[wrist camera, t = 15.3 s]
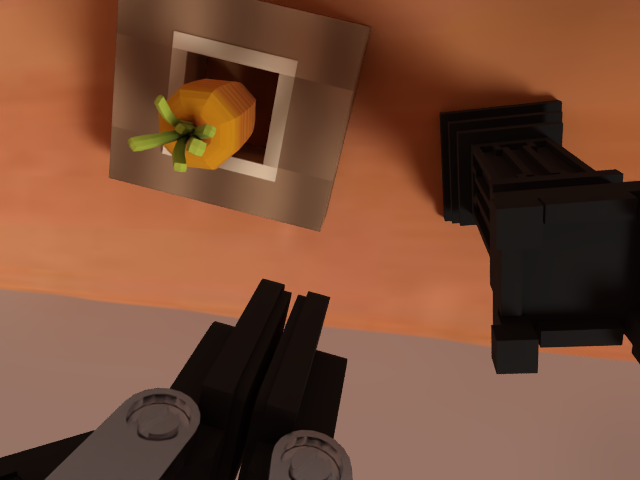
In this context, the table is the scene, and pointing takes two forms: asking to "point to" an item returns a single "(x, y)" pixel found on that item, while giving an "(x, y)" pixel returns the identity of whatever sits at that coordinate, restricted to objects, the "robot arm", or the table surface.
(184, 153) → the carrot
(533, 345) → the chess piece
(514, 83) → the table surface
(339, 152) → the seat block
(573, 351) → the table surface
